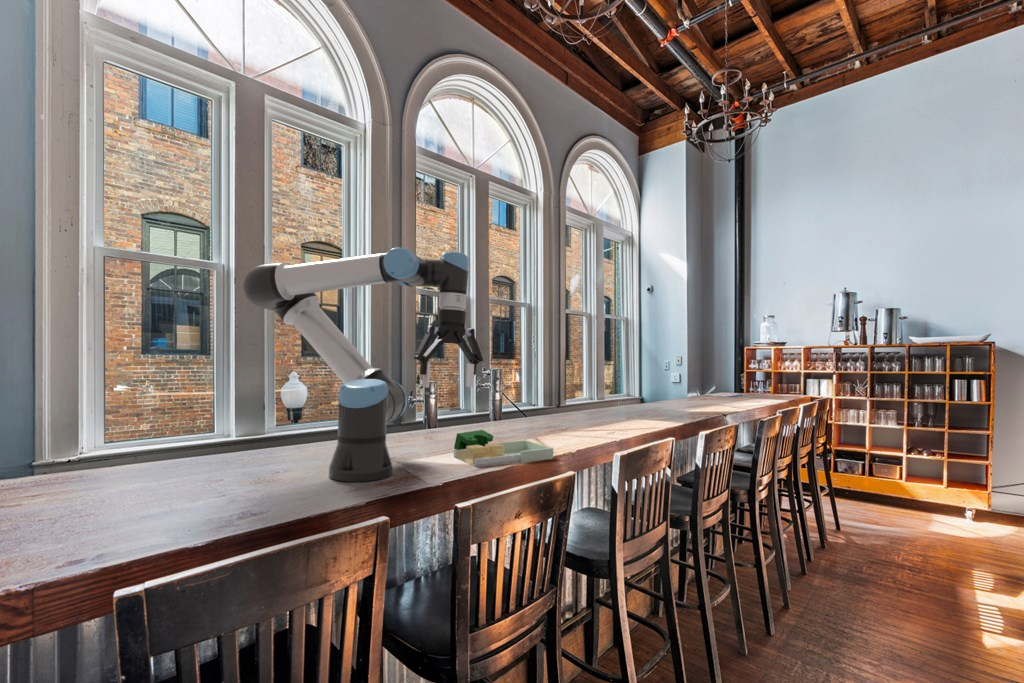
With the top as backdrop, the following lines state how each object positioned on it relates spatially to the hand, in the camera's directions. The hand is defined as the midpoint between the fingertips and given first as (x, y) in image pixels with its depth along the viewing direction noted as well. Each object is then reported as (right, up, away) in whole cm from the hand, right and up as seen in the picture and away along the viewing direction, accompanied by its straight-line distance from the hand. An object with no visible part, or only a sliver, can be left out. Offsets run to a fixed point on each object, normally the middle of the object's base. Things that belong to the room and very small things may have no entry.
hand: (448, 387), depth 138 cm
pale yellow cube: (+12, -21, +7) cm, 25 cm away
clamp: (+6, -22, +21) cm, 31 cm away
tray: (+21, -22, +12) cm, 33 cm away
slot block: (+10, -22, +5) cm, 25 cm away
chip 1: (+7, -21, +3) cm, 22 cm away
